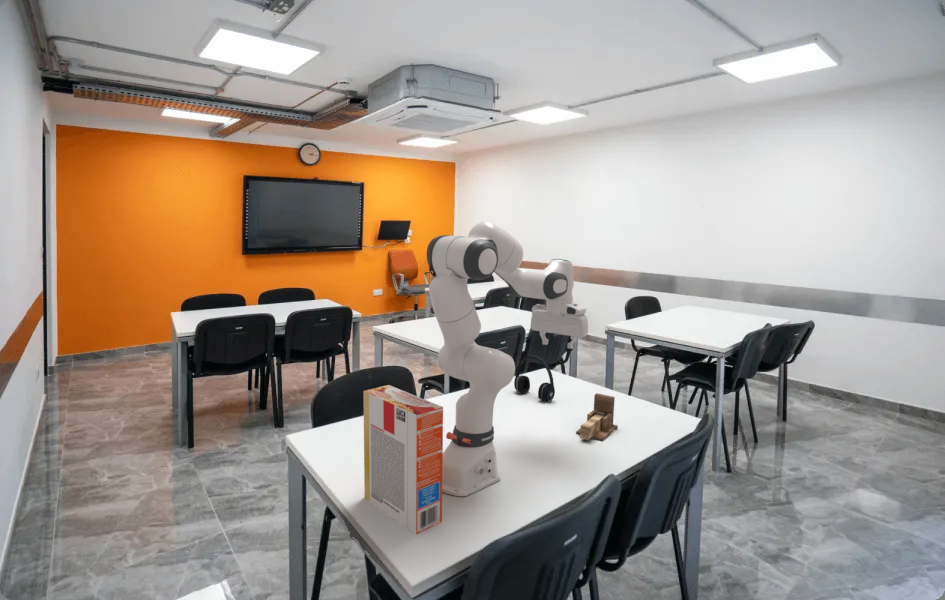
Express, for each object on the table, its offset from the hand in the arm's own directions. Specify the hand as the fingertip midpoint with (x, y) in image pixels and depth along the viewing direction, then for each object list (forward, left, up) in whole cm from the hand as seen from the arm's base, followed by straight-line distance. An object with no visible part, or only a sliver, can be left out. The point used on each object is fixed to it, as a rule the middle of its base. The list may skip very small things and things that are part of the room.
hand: (557, 346), depth 179 cm
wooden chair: (+15, -10, -33) cm, 38 cm away
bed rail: (+10, -10, -32) cm, 35 cm away
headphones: (+35, +27, -33) cm, 55 cm away
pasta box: (-66, +11, -33) cm, 75 cm away
